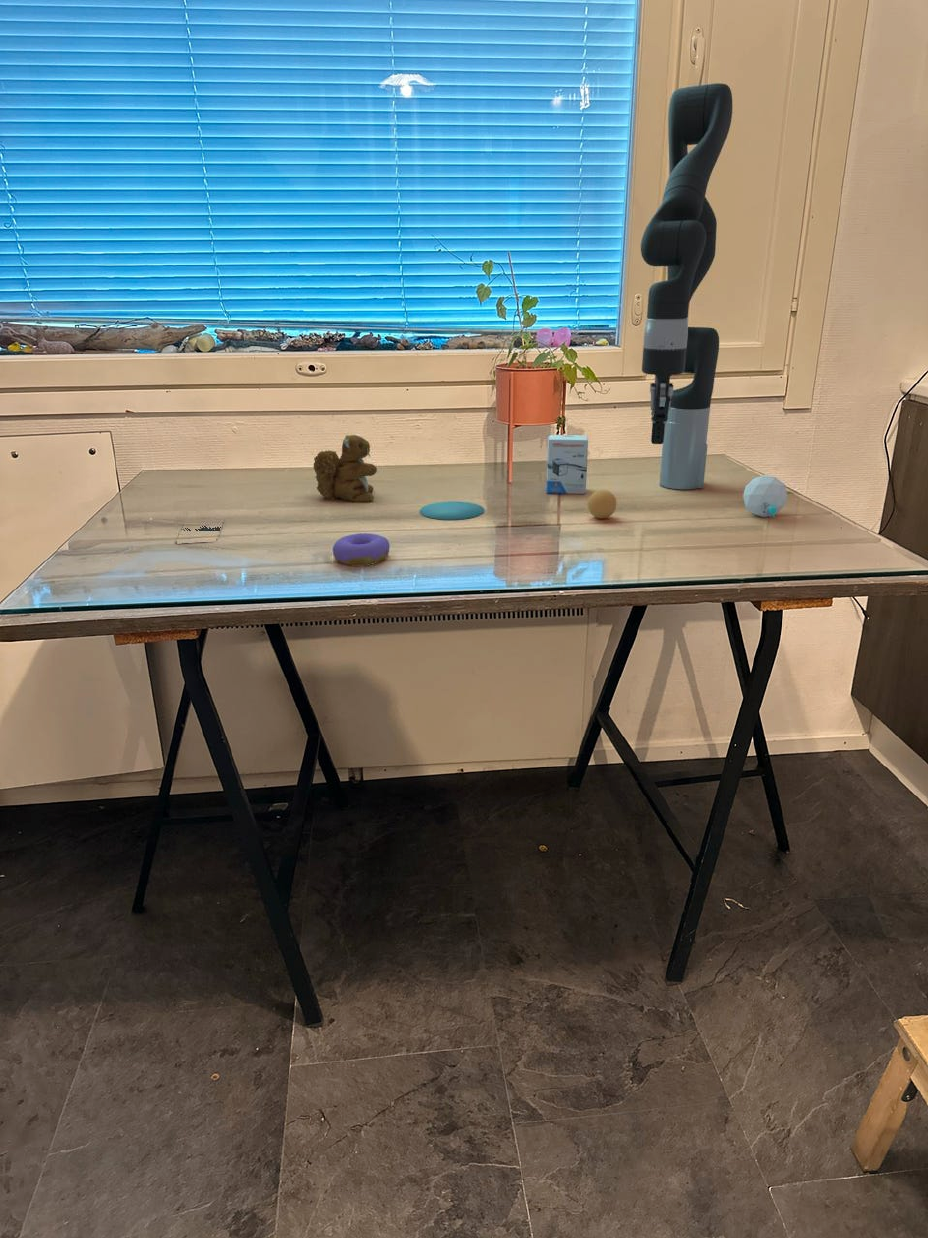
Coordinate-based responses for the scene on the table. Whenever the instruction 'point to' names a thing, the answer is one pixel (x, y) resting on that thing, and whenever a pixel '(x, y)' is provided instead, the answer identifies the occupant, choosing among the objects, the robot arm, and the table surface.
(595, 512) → the ball
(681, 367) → the robot arm
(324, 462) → the stuffed squirrel
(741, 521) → the table surface
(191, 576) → the table surface
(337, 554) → the donut
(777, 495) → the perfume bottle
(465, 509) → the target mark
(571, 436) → the ink box
